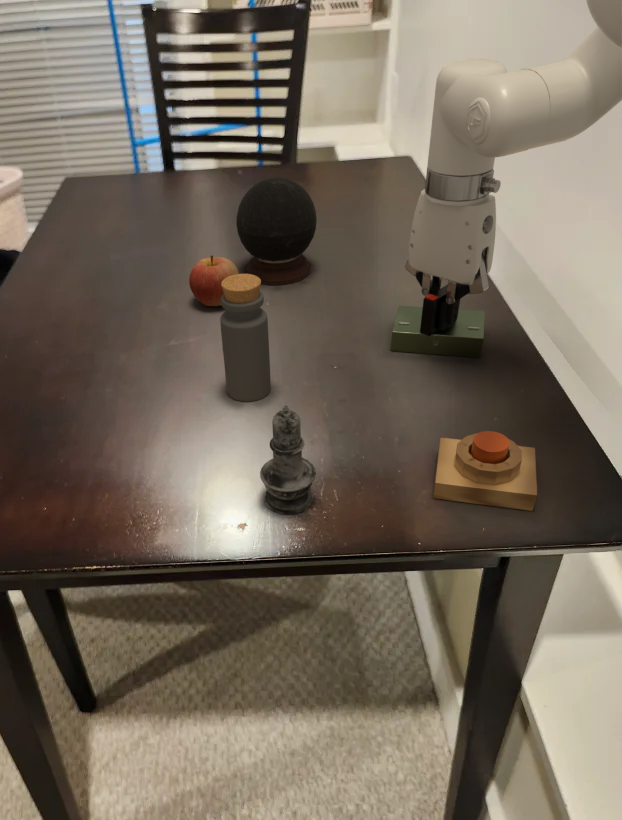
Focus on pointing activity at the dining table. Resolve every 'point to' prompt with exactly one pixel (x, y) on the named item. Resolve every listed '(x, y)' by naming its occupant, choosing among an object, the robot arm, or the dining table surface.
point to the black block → (432, 311)
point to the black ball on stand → (277, 230)
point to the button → (490, 447)
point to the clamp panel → (439, 334)
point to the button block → (485, 476)
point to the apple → (210, 279)
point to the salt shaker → (287, 467)
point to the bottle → (245, 338)
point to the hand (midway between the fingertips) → (439, 323)
